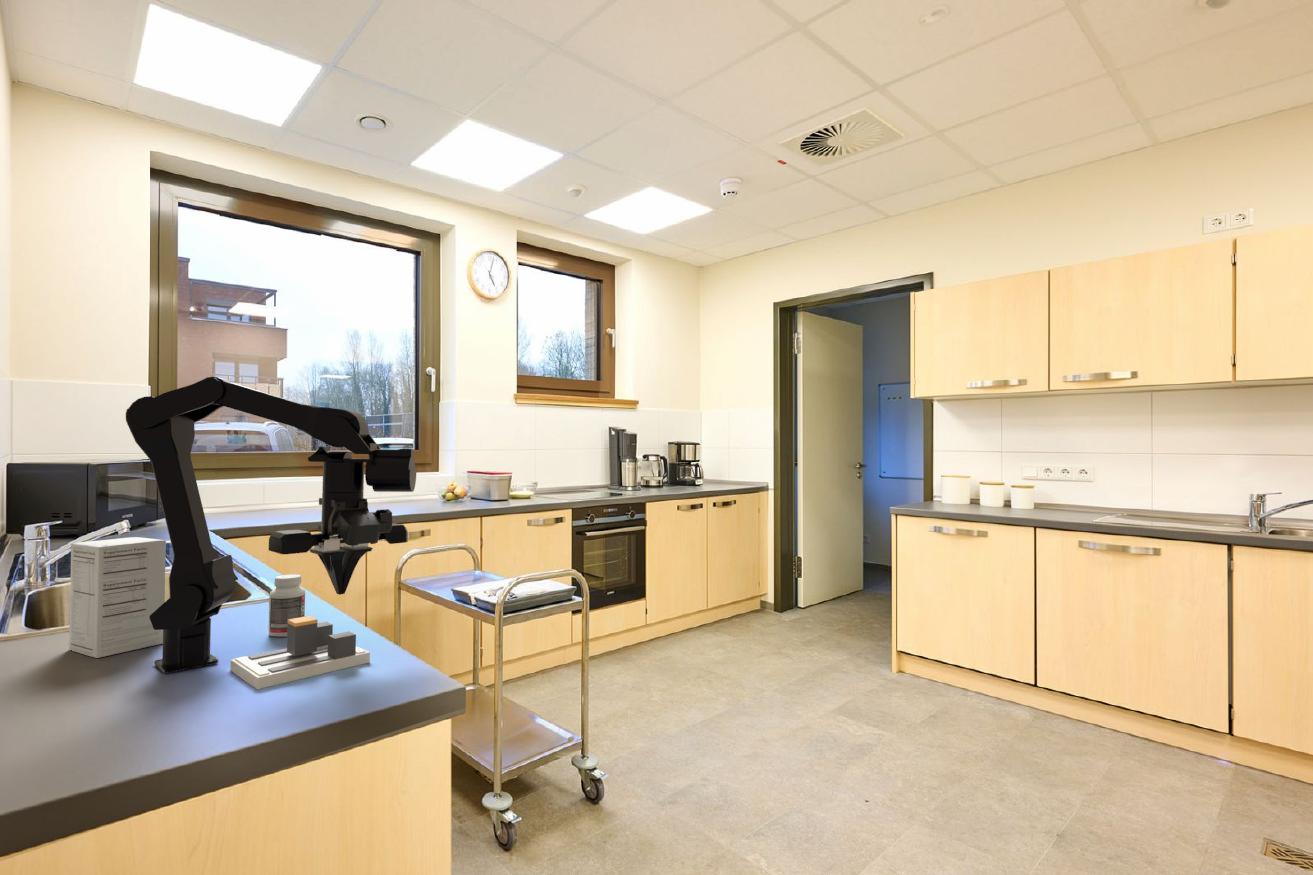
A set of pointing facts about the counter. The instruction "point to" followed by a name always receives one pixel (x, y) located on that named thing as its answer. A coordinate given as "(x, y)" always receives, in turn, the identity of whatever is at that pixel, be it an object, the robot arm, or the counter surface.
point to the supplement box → (115, 595)
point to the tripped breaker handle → (302, 635)
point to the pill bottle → (285, 603)
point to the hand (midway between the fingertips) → (340, 594)
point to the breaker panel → (302, 660)
